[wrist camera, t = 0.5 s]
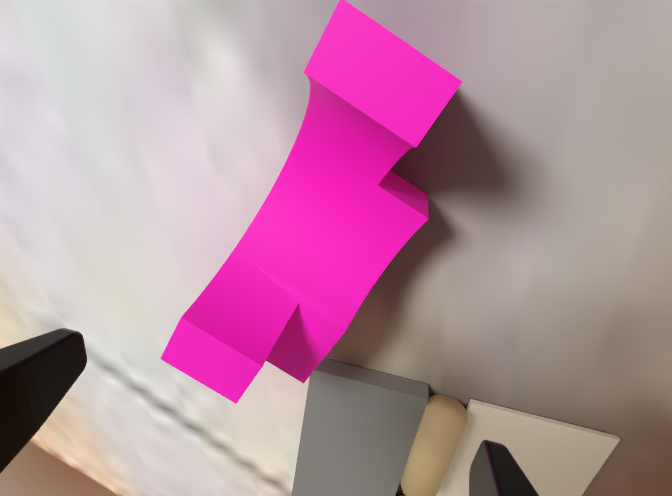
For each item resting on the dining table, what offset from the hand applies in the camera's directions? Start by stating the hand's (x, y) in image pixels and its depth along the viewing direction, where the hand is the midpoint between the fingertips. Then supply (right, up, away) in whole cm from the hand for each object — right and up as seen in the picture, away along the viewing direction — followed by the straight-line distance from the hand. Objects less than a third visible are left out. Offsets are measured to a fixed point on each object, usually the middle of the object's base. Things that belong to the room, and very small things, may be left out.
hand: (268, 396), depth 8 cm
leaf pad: (+12, -14, +18) cm, 26 cm away
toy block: (+2, +5, +12) cm, 13 cm away
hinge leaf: (+3, -12, +19) cm, 23 cm away
